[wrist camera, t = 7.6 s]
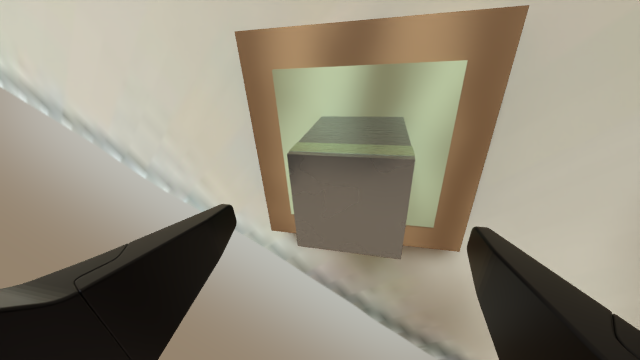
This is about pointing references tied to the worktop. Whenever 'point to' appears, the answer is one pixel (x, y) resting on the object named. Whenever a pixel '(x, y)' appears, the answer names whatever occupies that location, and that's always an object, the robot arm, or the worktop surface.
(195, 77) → the worktop surface
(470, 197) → the platform
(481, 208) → the worktop surface
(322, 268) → the worktop surface
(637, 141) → the worktop surface
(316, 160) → the grey box
